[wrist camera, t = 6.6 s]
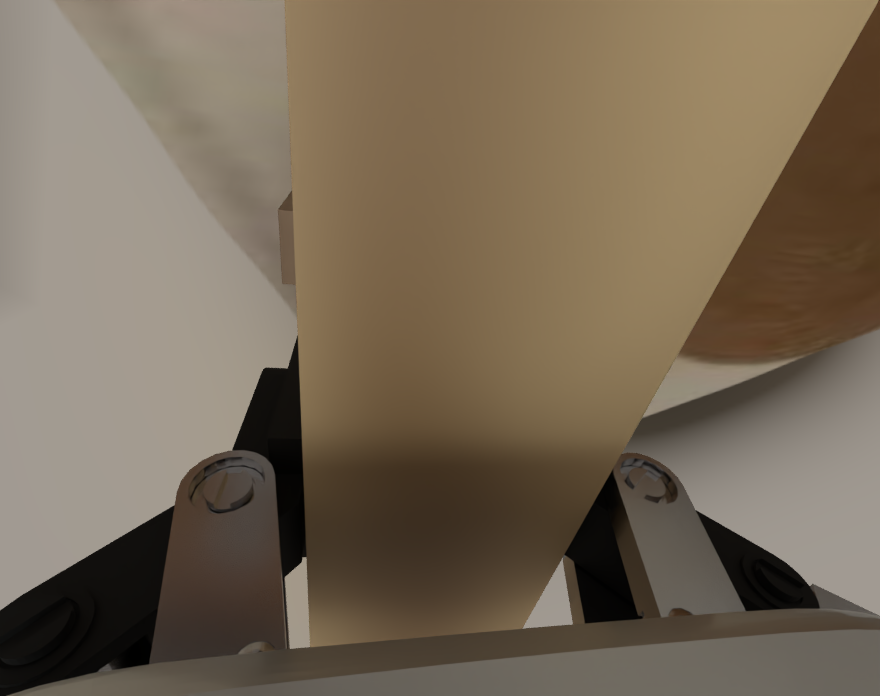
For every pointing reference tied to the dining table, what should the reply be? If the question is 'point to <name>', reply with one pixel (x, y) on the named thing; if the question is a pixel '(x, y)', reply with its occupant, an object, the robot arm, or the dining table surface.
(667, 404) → the dining table surface
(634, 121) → the bar
